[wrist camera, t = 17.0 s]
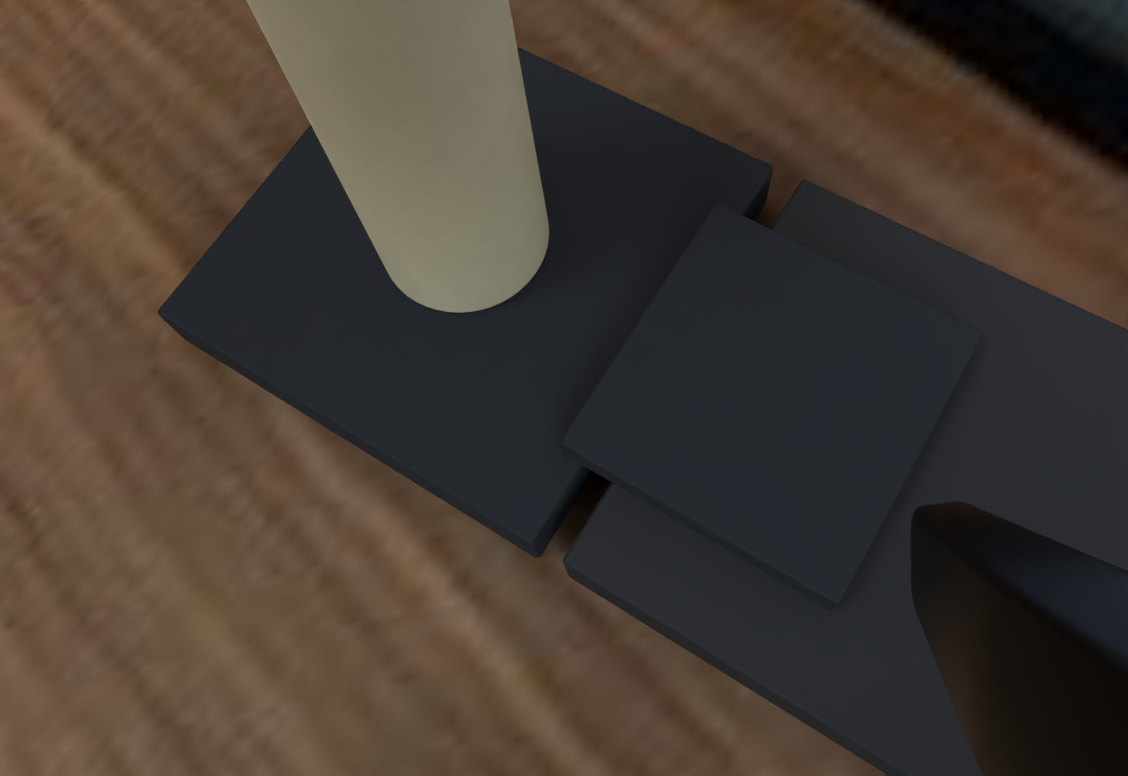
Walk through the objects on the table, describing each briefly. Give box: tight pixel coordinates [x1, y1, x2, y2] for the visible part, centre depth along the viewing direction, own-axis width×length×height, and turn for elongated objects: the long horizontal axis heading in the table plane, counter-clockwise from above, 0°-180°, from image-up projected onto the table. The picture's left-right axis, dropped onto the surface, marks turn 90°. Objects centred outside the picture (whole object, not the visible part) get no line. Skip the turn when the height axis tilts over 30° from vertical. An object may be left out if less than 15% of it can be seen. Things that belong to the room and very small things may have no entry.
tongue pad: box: [158, 0, 983, 610], centre depth 12 cm, size 12×8×13 cm, turn 58°
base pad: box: [563, 180, 1128, 776], centre depth 16 cm, size 10×8×1 cm
